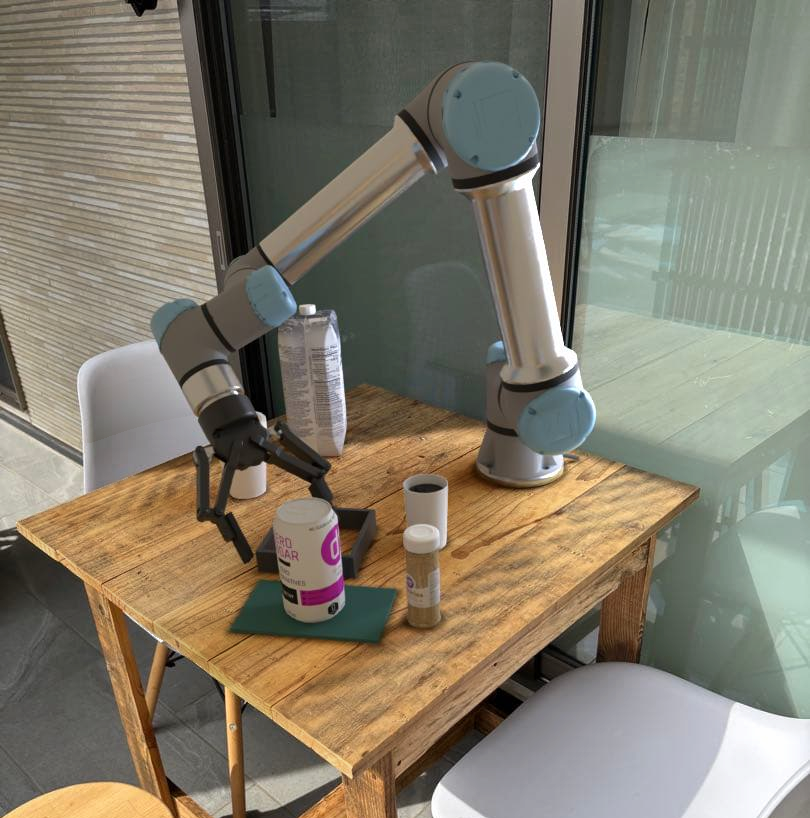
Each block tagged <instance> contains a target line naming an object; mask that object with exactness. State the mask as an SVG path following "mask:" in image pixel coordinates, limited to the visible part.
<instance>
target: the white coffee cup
mask: <svg viewBox="0 0 810 818" xmlns="http://www.w3.org/2000/svg"><path fill="white" fill-rule="evenodd" d="M402 489H403V501H404V508H405V509H404V510H405V519H406V529H407V528H408V527H410V526H413V525H417V524H427V525H431V526H434V527H435V528H437V529H438V531H439V536H440V545H439V550H441V549H443V548H444V547H445V546H446V545H447V535H448V532H447V531H448V501H449V499H448V497H449V496H448V495H449V481H448V480H447V479H446V477H444V476H442V475H439V474H436V473H435V474H434V473H420V474H414V475H412V476H409V477H407V478H406V479H405V480H403V484H402Z"/></svg>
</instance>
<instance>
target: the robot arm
mask: <svg viewBox="0 0 810 818" xmlns="http://www.w3.org/2000/svg"><path fill="white" fill-rule="evenodd" d="M540 125H541V109H540V103H539V100H538V96H537V94H536V91H535V89H534V88H533V86H532V84H531V83H530V81H529V80H528V79H527V78H526V77H525V76H524V75H523V74H522V73H521V72H519V71H518V70H516V69H514V68H513V66H511V65H508V64H506V63H503V62H500V61H497V60H482V61H474V60H473V61H472V60H471V61H461V62H457V63H455V64H452V65H450V66H448V67H447V68H445V69H444V70H443V71H441V72H440V73H439V74H437V76H436V77H435V78H433V79H432V81H431V82H430V83H428V84H427V86H426V87H425V88H424V89H422V91H421V92H420V93H419V94H418V95H417V96H415V98H414V99H412V100H411V101H410V103H408V105H406V106H405V107H404V108H403V109H402V110H400V112H398V113H397V114H396V115H395V116H394V119H393V127H392V128H391V129H390V130H389V131H388V132H387V133H386V134H385V135H383V136H382V137H381V138H380V139H378V141H376V142H375V143H374V144H373V145H372V146H371V147H369V148H368V149H367V150H366V151H364V152H363V154H361V155H360V156H359V157H358V158H357V159H356V160H354V161H353V162H352V163H350V165H348V166H347V167H346V168H345V169H344V170H343V171H342V172H340V173H339V174H338V175H337V176H335V177H334V178H333V179H332V180H331V181H330V182H329V183H328V184H326V185H325V186H323V188H321V189H320V190H319V191H318V192H317V193H316V194H314V196H312V197H311V198H310V199H309V200H307V202H305V203H304V204H303V205H301V206H300V207H299V208H298V209H297V210H296V211H295V212H294V213H292V214H291V215H290V216H289V217H288V218H287V219H286V220H284V221H283V222H282V223H281V224H280V225H278V226H277V227H276V228H275V229H274V230H272V232H270V233H268V235H267V236H266V237H264V238H263V239H262V240H261V241H259V243H258V244H257V245H256V246H254V247H252V249H250V251H248V252H247V253H246V254H243V255H240V256H238V257H236V258H234V259H233V260H232V261H231V262H230V263H229V265H228V266H227V267H226V270H225V272H224V273H223V277H222V289H223V291H221V292H220V293H218V294H217V295H215V296H214V297H212V298H210V299H209V300H208V301H206V302H204V303H203V304H199V305H198V303H197V302H196V301H195V300H193V299H192V298H188V297H187V298H186V297H185V298H184V297H180V298H177V299H175V300H174V301H171V302H170V301H168V302H166V303H163V305H161V306H159V308H157V309H156V310H155V312H153V314H152V316H151V318H150V320H149V321H150V322H149V328H150V331H151V333H152V336H153V338H154V340H155V342H156V344H157V347H158V351H159V353H160V355H162V357H163V359H164V361H165V362H166V364H167V366H168V368H169V370H170V371H171V373H172V375H173V377H174V378H175V381H176V382H177V383H178V385H179V388H180V390H181V392H182V395H183V397H184V398H185V400H186V401H187V403H188V405H189V407H190V409H191V411H192V413H193V415H194V416H195V417H196V418H197V422H198V424H199V426H200V428H201V430H202V432H203V434H204V436H205V438H206V440H207V441H208V442H209V445H210V446H207V447H204V446H203V445H197V446H196V447H195V449H194V451H193V453H192V455H191V460H192V462H193V466H194V467H195V473H196V475H195V476H196V477H195V479H196V481H195V482H196V483H195V484H196V487H195V489H196V490H195V495H196V497H195V498H196V499H195V500H196V505H195V506H196V508H195V509H196V511H195V513H196V515H195V516H196V521H197V522H199V523H204V522H209V523H211V524H212V525H215V526H216V528H217V529H218V531H219V533H220V536H221V537H222V538H223V541H224V542H226V544H228V543H231V542H232V544H233V547H234V549H235V550H236V552H237V554H238V556H239V557H240V560H241V561H242V563H243V564H244V565H246V564H249V563H250V562H251V561H252V560H253V558H255V557H256V554H255V552H254V551H253V550H252V548H251V546H250V543H249V541H248V540H247V538H246V536H245V534H244V532H243V530H242V528H241V526H240V524H239V523H238V521H237V519H236V517H235V515H234V513H233V512H232V511H229V512H227V513H225V512H226V508H227V504H228V500H229V496H230V489H231V485H232V481H233V477H234V473H235V470H240V471H243V470H246V469H247V468H249V467H251V466H257V465H260V464H261V463H262V462H265V463H266V465H273V466H275V467H277V468H279V469H281V470H283V471H285V472H287V473H289V474H291V475H293V476H295V477H296V478H299V479H300V480H303V481H305V482H307V483H309V484H310V485H309V486H308V487H307V490H308V492H309V493H310V495H311V497H313V498H319V499H323V500H325V501H327V502H329V504H330V505H331V507H332V509H333V511H334V512H335V514H336V515H337V518H338V522H339V521H340V520H341V519H340V517H339V515H338V513H337V511H336V510H335V508H334V507H335V506H334V504H333V503H332V500H333V499H334V494H333V492H332V490H331V488H330V487H329V484H328V482H327V481H326V479H325V477H326V476H327V474H328V473H329V472H330V471H331V469H332V466H333V465H332V463H331V462H330V461H328V460H327V459H326V458H325V457H324V456H321V455H319V454H318V453H317V452H316V451H314V450H313V449H312V448H311V447H309V446H308V445H307V444H306V443H305V442H303V441H302V440H301V439H300V438H298V437H297V436H296V435H295V434H293V433H292V432H291V431H290V429H289V428H288V424H286V422H285V421H284V420H283V419H278V420H277V421H276V423H274V424H273V425H271V426H268V427H267V429H266V428H265V427H264V426H262V424H261V423H260V421H259V418H258V415H257V413H256V412H257V411H256V410H255V407H254V406H253V404H252V401H250V399H249V397H248V396H247V395H245V389H244V387H243V386H242V384H241V382H240V380H239V378H238V376H237V374H236V373H235V371H234V369H233V368H232V366H231V363H230V362H229V360H228V357H229V356H230V355H231V354H234V353H236V352H237V351H239V350H240V349H241V348H243V347H245V346H246V345H248V344H249V343H252V342H254V341H256V340H257V339H258V338H260V337H262V336H264V335H265V334H267V333H268V332H270V331H272V330H274V329H275V328H277V327H278V326H280V325H281V324H282V323H283V322H284V321H285V320H287V319H288V318H289V317H291V316H292V315H294V314H295V312H297V310H298V309H297V308H298V305H297V303H296V300H295V298H294V296H293V294H292V292H291V290H290V288H291V287H292V286H293V285H294V284H295V283H296V282H298V281H299V280H300V279H301V278H303V277H304V276H305V275H306V274H307V273H309V272H310V271H311V270H312V269H313V268H315V267H316V266H317V265H318V264H319V263H320V262H322V261H323V260H324V259H325V258H326V257H328V256H329V255H330V254H331V253H332V252H334V251H335V250H336V249H337V248H339V247H340V246H341V245H342V244H343V243H344V242H346V241H347V240H348V239H349V238H350V237H352V236H353V235H354V234H355V233H357V232H358V231H359V230H360V229H361V228H362V227H364V226H365V225H366V224H368V222H370V221H371V220H372V219H373V218H375V217H376V216H377V215H378V214H379V213H381V212H382V211H383V210H384V209H385V208H387V207H388V206H389V205H390V204H392V202H394V201H395V200H396V199H398V198H399V197H400V196H401V195H402V194H403V193H405V192H406V191H407V190H408V189H409V188H411V187H412V186H413V185H414V184H416V183H417V182H418V181H419V180H420V179H421V178H422V177H424V176H427V175H428V176H429V175H430V176H436V175H438V174H439V173H440V172H441V171H443V170H445V168H446V167H447V168H448V170H449V175H450V178H451V183H452V187H453V190H454V191H455V192H457V193H458V194H460V195H462V196H463V197H465V198H466V199H467V201H468V204H469V209H470V212H471V215H472V216H471V217H472V221H473V224H474V230H475V233H476V237H477V242H478V246H479V249H480V250H479V251H480V255H481V258H482V263H483V267H484V271H485V274H486V280H487V283H488V287H489V288H488V289H489V292H490V296H491V300H492V305H493V309H494V313H495V318H496V322H497V326H498V331H499V335H500V339H501V340H500V341H496V342H494V343H492V344H491V345H490V346H489V347H488V349H487V354H486V356H487V357H486V362H485V365H486V428H485V432H484V435H483V438H482V441H481V444H480V446H479V449H478V452H477V454H476V459H475V465H476V466H475V470H476V473H477V474H478V476H479V477H480V478H482V479H483V480H485V481H486V482H489V483H491V484H493V485H497V486H501V487H507V488H516V489H517V488H521V489H522V488H536V487H540V486H544V485H547V484H550V483H553V482H555V481H556V480H557V479H559V478H560V477H561V476H562V475H563V472H564V465H565V464H564V463H565V460H564V459H569V460H570V459H571V460H576V461H579V460H580V456H579V455H576V454H571V453H570V452H572V451H574V450H575V449H577V448H578V447H580V446H581V445H582V444H583V443H584V442H585V441H586V439H587V437H588V436H589V435H590V434H591V432H592V431H593V429H594V426H595V423H596V418H597V417H596V416H597V412H596V406H595V403H594V401H593V400H592V396H591V395H590V393H589V392H588V391H586V390H585V389H584V386H583V382H582V376H581V371H580V367H579V362H578V356H577V353H576V352H575V351H574V350H572V349H571V348H568V347H567V346H565V345H564V339H563V334H562V330H561V325H560V324H561V323H560V319H559V314H558V310H557V304H556V299H555V294H554V289H553V283H552V279H551V275H550V274H551V273H550V269H549V265H548V258H547V253H546V248H545V243H544V239H543V233H542V227H541V224H540V219H539V213H538V209H537V204H536V198H535V194H534V189H533V183H532V179H533V178H534V176H535V174H536V172H537V171H538V169H539V168H540V166H541V163H540V157H539V153H538V152H539V151H538V147H537V138H538V134H539V131H540ZM270 438H271V439H273V441H274V442H278V443H279V444H280V445H281V446H282V447H283V448H284V449H285V450H287V451H288V452H289V453H288V452H286V451H284V450H282V449H281V447H280V446H278V445H277V444H275V443H273V442H272V441H271V442H270ZM213 458H215V459H217V460H218V461H219V460H220V461H222V462H223V463H225V464H224V468H223V471H222V472H221V478H220V482H219V484H218V489H217V493H216V495H215V496H216V497H215V500H214V504H213V507H211V494H210V493H211V482H210V481H211V475H210V473H211V468H210V467H211V466H210V464H211V462H212V461H213V460H212V459H213ZM220 461H219V462H220Z"/></svg>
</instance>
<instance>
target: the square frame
mask: <svg viewBox="0 0 810 818" xmlns="http://www.w3.org/2000/svg"><path fill="white" fill-rule="evenodd" d="M334 508H335V510H336V511H337V513H338V515H339V517H340V519H341V520H340V521H339V522H338V529H339V530H351V531H359V532H358V535H357V537H356V539H355V542H354V544H353V546H352V548H351V550H350V552H349V554H346V553H345V554H344V553H341V560H342V571H343V579H344V578H345V579H356V577H357V574H358V572H359V570H360V568H361V565H362V563H363V561H364V558H365V556H366V554H367V552H368V549H369V547H370V545H371V543H372V540H373V538H374V536H375V534H376V531H377V528H378V527H377V513H376V508H358V507H357V508H356V507H339V506H338V507H337V506H334ZM254 554H255V559H256V565H257V571H258V573H267V574H268V573H269V574H279V567H278V560H277V553H276V545H275V538H274V531H273V524H272V526H271V527H270V528H269V530H268V531H267V533H266V534H265V536H264V538H263V539H262V540H261V543H260V544H259V546H258V547H257V548H256V550H255V552H254Z"/></svg>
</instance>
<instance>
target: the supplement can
mask: <svg viewBox="0 0 810 818" xmlns="http://www.w3.org/2000/svg"><path fill="white" fill-rule="evenodd" d="M272 525H273V531H274V538H275V545H276V553H277V560H278V567H279V573H278V574H279V581H281V588H282V595H283V603H284V608H285V610H286V613H287V614H289V615H290V616H291V617H293V618H295V619H296V620H299V621H302V622H308V623H316V622H322V621H325V620H328V619H331V618H332V617H334V616H335V615H337V614H338V612H340V611H341V609H342V608H343V607H344V605H345V592H344V585H345V583H344V582H345V581H344V578H343V571H342V560H341V554H342V551H341V540H340V529H338V518H337V515H336V514H335V512H334V511H333V509H332V507H331V505H330V504H329V502H327V501H325V500H323V499H319V498H313V497H312V496H311V497H310V496H309V497H308V496H306V497H298V498H294V499H290V500H287V501H285V502H284V503H282V504H281V505H279V506H278V507H277V509H276V512H275V516H274V517H273V522H272Z"/></svg>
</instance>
